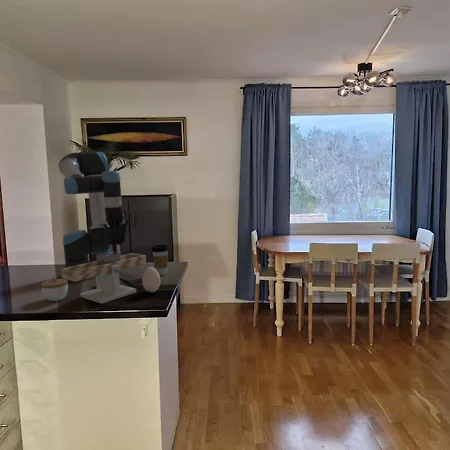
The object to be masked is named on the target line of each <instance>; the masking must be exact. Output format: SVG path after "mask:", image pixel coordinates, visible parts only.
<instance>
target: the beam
mask: <svg viewBox="0 0 450 450" xmlns="http://www.w3.org/2000/svg"><path fill="white" fill-rule="evenodd" d="M89 262H90V261H89ZM145 264H147V256H146V254H140V253H134V252H131V253H128V254H127V253H126V254H123V255H122V254H121V261H117V262H111V263H108V264H104V265H100V266H97V260H96V261H95V260H94V261H91V262H90V263H86V264H81V265H77V266H72V267H68V268H64V267H63V268H61V269H60V271H61V279H66V280H68V281H71V282H79V281H83V280H86V279H91V278H94V277H95V278H96V276H99V275H103V274H107V273H111V272H112V269H111V266H113V265H118V268H119V270H120V271H122V270H126V269H130V268H134V267H137V266H141V265H145Z"/></svg>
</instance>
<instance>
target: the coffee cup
mask: <svg viewBox="0 0 450 450" xmlns="http://www.w3.org/2000/svg"><path fill="white" fill-rule="evenodd" d="M168 251H169V247H168V244H155V245H152V247H151V252H152V258H153V265H154V268H155V269H156V270H157V271H158V273H159V275H160V276H166V275H167V274H168V264H169V263H168V262H169V261H168V259H169V255H168ZM165 274H166V275H165Z"/></svg>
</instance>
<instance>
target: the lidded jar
mask: <svg viewBox="0 0 450 450" xmlns="http://www.w3.org/2000/svg"><path fill="white" fill-rule="evenodd" d="M68 283H69V280H68V279H64V278H55V277H54V278H52V279H49V280H45V281H43V282H41V284H40V287H41V291H42V295H43V297H44V298H45V299H46V300H47V301H49V300H50V301H55V300H60V301H62V300H61V299H63V298H65V297H66V296H67V294H68V291H69V284H68ZM63 300H64V299H63ZM50 301H49V302H50Z"/></svg>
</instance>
